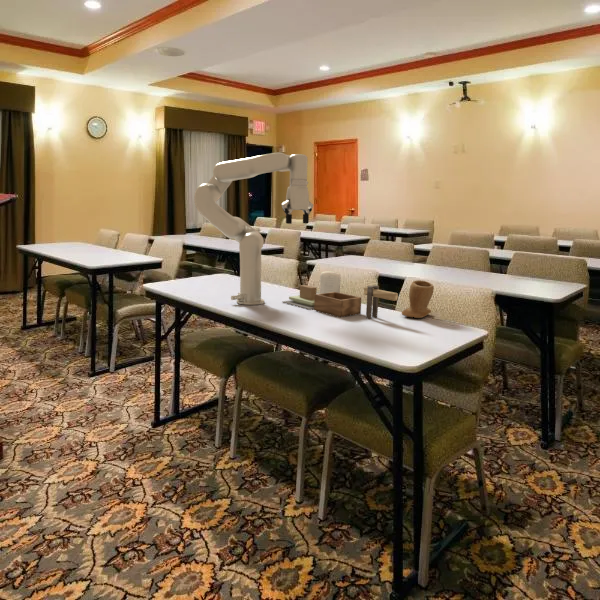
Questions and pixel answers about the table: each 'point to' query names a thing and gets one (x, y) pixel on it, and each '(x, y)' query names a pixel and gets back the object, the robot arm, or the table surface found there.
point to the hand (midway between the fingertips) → (297, 223)
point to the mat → (298, 304)
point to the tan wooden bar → (383, 294)
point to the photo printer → (329, 282)
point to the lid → (305, 295)
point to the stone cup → (419, 299)
